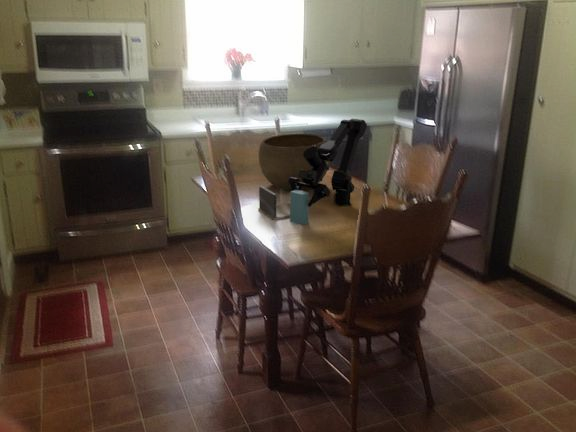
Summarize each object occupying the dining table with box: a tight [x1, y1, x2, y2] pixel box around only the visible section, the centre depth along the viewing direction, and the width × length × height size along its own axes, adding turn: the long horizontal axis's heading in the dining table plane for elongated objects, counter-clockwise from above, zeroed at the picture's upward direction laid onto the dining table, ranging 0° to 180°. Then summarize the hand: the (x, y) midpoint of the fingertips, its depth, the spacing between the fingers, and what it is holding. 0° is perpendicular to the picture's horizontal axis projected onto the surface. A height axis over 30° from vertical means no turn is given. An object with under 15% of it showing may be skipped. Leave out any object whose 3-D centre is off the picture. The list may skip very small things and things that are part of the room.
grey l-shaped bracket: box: [257, 185, 290, 221], centre depth 237 cm, size 16×14×11 cm
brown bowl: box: [258, 133, 331, 192], centre depth 274 cm, size 35×35×25 cm
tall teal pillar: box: [289, 190, 310, 226], centre depth 226 cm, size 4×6×13 cm, turn 51°
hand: (299, 203), depth 226 cm, fingers open, 9 cm apart
